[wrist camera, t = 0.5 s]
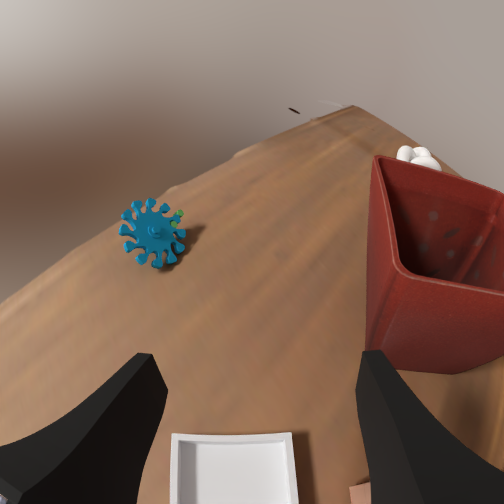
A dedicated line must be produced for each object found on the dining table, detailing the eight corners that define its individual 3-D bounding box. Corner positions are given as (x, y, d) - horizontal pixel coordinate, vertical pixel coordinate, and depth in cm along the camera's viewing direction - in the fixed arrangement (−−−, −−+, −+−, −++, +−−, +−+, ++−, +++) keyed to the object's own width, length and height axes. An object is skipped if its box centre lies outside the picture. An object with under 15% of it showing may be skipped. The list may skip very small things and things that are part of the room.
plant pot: (330, 388, 27) (396, 270, 16) (343, 262, 41) (372, 151, 30) (477, 400, 24) (572, 308, 13) (456, 285, 38) (504, 193, 27)
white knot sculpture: (437, 186, 62) (447, 154, 56) (432, 205, 55) (445, 169, 49) (397, 169, 67) (405, 137, 61) (386, 185, 60) (396, 148, 54)
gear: (149, 279, 35) (108, 211, 34) (133, 290, 39) (96, 229, 38) (205, 241, 43) (169, 184, 42) (184, 254, 47) (152, 202, 46)
